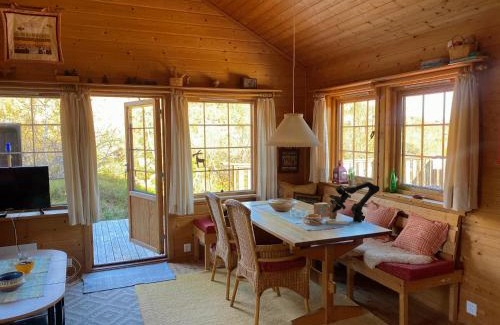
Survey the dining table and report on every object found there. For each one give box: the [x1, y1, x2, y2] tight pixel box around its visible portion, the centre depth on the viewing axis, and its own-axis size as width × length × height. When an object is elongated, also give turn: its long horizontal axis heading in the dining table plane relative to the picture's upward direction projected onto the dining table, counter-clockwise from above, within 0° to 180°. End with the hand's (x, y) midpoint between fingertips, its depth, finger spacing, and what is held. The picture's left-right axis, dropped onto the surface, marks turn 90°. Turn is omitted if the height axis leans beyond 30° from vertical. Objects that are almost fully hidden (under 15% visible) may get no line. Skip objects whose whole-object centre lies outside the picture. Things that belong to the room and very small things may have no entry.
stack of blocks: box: [313, 202, 338, 218], centre depth 358 cm, size 21×6×12 cm, turn 106°
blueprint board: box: [325, 219, 350, 226], centre depth 328 cm, size 18×11×2 cm, turn 91°
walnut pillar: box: [328, 203, 337, 220], centre depth 329 cm, size 4×4×12 cm
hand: (331, 211), depth 328 cm, fingers closed on walnut pillar, 4 cm apart
